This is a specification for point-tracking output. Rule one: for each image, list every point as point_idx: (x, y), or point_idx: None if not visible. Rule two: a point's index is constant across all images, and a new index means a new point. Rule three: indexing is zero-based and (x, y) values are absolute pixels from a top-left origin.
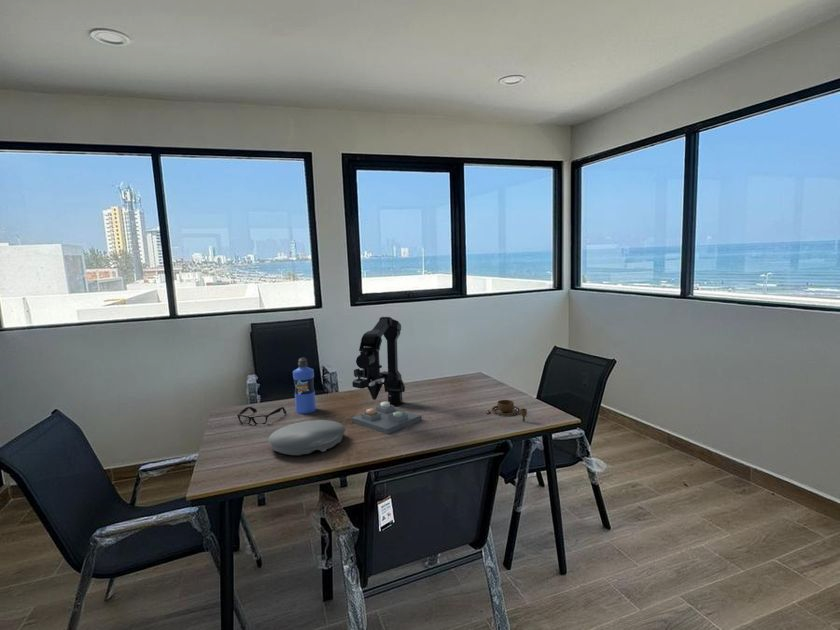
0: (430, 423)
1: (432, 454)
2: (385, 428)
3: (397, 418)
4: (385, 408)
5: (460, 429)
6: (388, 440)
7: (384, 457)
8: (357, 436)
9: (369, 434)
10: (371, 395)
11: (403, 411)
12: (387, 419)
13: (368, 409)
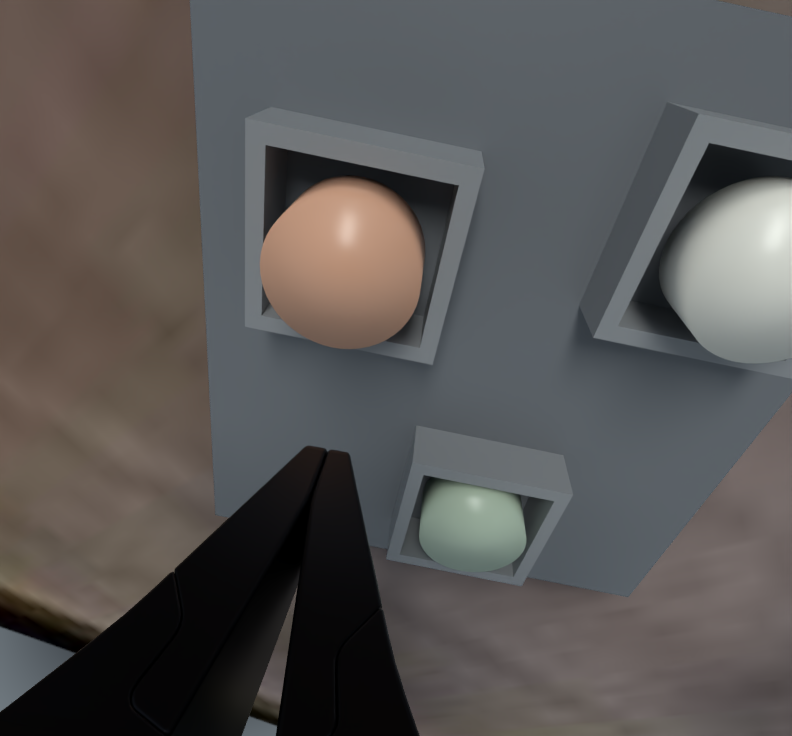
0: (559, 615)
1: None
2: (217, 500)
3: (388, 546)
4: (669, 299)
5: (518, 720)
6: (160, 527)
7: (8, 586)
8: (22, 316)
9: (129, 379)
10: (242, 512)
11: (716, 448)
12: (407, 422)
13: (330, 231)
